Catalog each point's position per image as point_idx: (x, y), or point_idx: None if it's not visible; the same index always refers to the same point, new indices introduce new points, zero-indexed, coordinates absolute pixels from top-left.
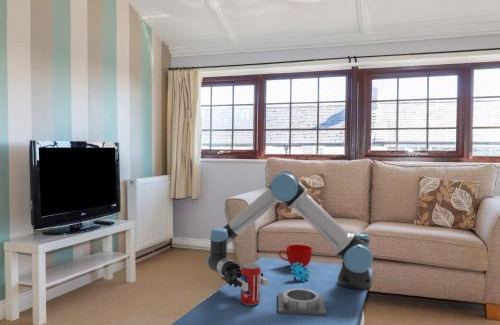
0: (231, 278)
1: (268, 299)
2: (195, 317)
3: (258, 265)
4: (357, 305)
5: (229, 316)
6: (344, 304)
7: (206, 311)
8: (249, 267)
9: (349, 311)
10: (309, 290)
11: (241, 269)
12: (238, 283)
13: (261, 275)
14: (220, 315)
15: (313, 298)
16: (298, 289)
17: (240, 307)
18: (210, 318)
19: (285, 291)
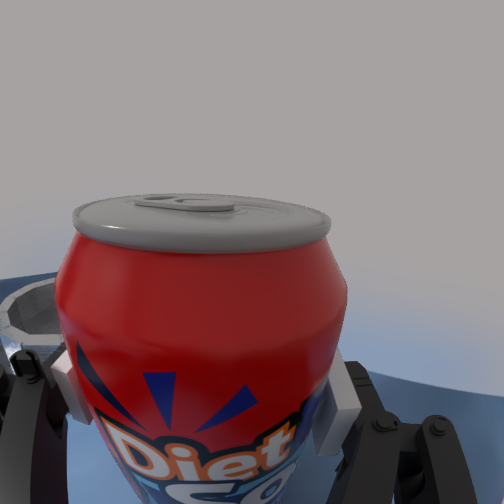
0: (431, 443)
1: (82, 446)
2: (499, 411)
3: (123, 198)
4: (17, 277)
5: (388, 400)
6: (19, 288)
7: (475, 452)
8: (270, 201)
9: (55, 276)
10: (5, 302)
11: (343, 290)
12: (363, 375)
13: (11, 378)
14: (422, 414)
15: (32, 307)
16: (5, 322)
17: (306, 461)
18: (455, 400)
19: (44, 343)
